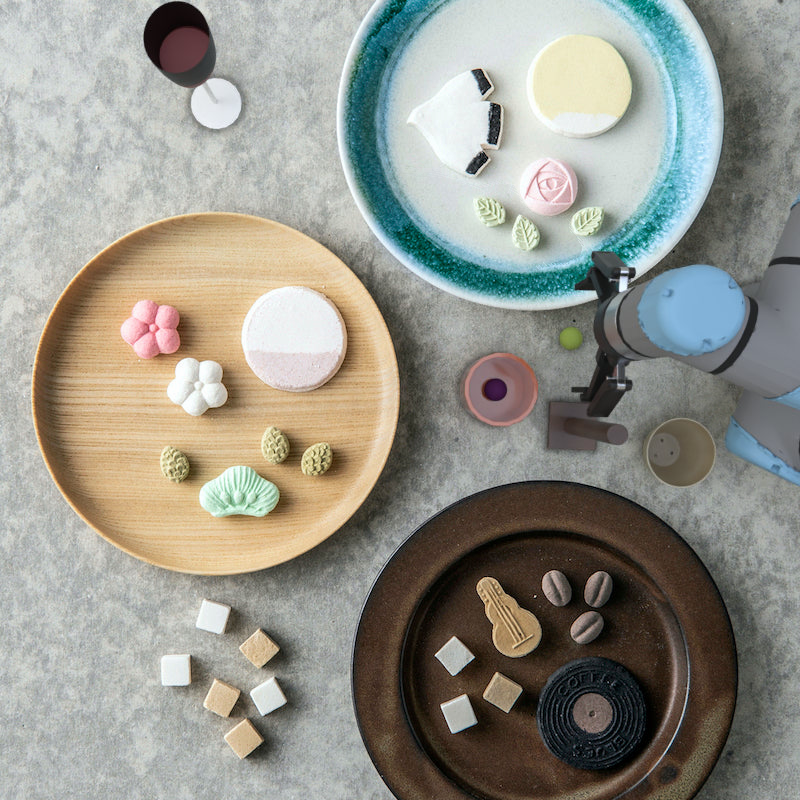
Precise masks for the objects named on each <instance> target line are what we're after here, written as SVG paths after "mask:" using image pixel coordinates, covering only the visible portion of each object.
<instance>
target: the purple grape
mask: <svg viewBox="0 0 800 800" xmlns="http://www.w3.org/2000/svg"><path fill="white" fill-rule="evenodd" d="M484 393H485V395H486V397H487V398H488V399H490V400H492V401H500V400H502V399H503V398H504V397H505V396H506V394H507V385H506V384H505V382H504V381H503V380H501V379H498V378H493V379H491V380H489V381H488V382H487V383H486V384H485V387H484Z"/></svg>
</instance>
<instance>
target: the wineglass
mask: <svg viewBox="0 0 800 800" xmlns="http://www.w3.org/2000/svg"><path fill="white" fill-rule="evenodd" d="M142 42H143V48H144V51H145V53H146V56H147V57H148V59H149V60H150V61H151V63H152V64H153V66H154V67H155V68H156V69H157V70H158V71H159V72H160V73H161V75H163V76H164V77H165V78H167V79H168V80H170V82H172V83H174V84H175V85H177V86H179V87H182V88H184V89H185V88H187V89H194V91H193V93H192V95H191V99H190V108H191V111H192V115H193V116H194V118H195V119H196V121H197V122H198V123H200V124H201V125H202V126H204V127H206V128H208V129H212V130H213V129H214V130H220V129H225V128H227V127H229V126H231V125H232V124H234V122H235V121H236V120H237V119H238V117H240V113H241V111H242V101H243V100H242V97H241V93H240V92H239V90H238V89H237V87H236V85H234V84H233V83H231V82H230V81H229V80H226V79H224V78H220V77H219V78H216V77H213V78H211V76H212V75H213V73H214V70H215V67H216V64H217V49H216V44H215V40H214V36H213V34H212V30H211V28H210V26H209V23H208V21H207V19H206V16H205V15H204V14H203V12H201V10H200V9H199V8H198V7H196V6H195V5H193V4H191V3H190V2H186V1H182V0H173V1H168V2H165V3H163V4H161V5H159V6H158V7H157V8H156V9H154V10H153V12H151V14H150V16H149V17H148V18H147V21H146V22H145V25H144V28H143V34H142Z"/></svg>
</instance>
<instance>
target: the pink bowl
mask: <svg viewBox="0 0 800 800" xmlns="http://www.w3.org/2000/svg"><path fill="white" fill-rule="evenodd" d="M493 378H498V379H501V380H503V381H504V382H505V384H506V385H507V394H506V396H505V397H504V398H503V399H502V400H500V401H492V400H490V399H488V398H487V397H486V395H485V393H484V387H485V384H486V383H487V382H488V381H489V380H491V379H493ZM458 389H459V398H460V401H461V403H462V407H463V408H464V409H465V410H466V412H467V414H469V415H470V416H471V417H472V418H473V419H475V420H477V421H479V422H481V423H483V424H487V425H490V426H491V427H509V426H512V425H514V424H517V423H520V422H522V421H523V420H524V419H525V418H526V417H528V416H529V414H531V413H532V412H533V410H534V407H535V405H536V403H537V400H538V398H539V382H538V380H537V376H536V374H535V371H534V369H533V368H532V367H531V366H530V365H529V363H527V361H526V360H525V359H523V358H522V357H519V356H517V355H515V354H513V353H510V352H494V353H490V354H488V355H485V356H483V357H482V356H481V357H479V358H477V359H474V361H473V362H471V363H470V365H468V366H467V368H466V369H465V370H464V372H463V374H462V376H461V379H460V381H459V388H458Z"/></svg>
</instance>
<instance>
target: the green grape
mask: <svg viewBox="0 0 800 800" xmlns="http://www.w3.org/2000/svg"><path fill="white" fill-rule="evenodd" d="M583 340H584V336H583V333H582V332H581V330H580V329H579V328H577V327H574V326H568V327H566V328H564V329H563V330H562V331H561V332H560V334H559V337H558V341H559V344H560V345H561V347H562V348H564V349H565V350H567V351H574V350H577V349H578V348H580V347H581V345H582V344H583Z"/></svg>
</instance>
